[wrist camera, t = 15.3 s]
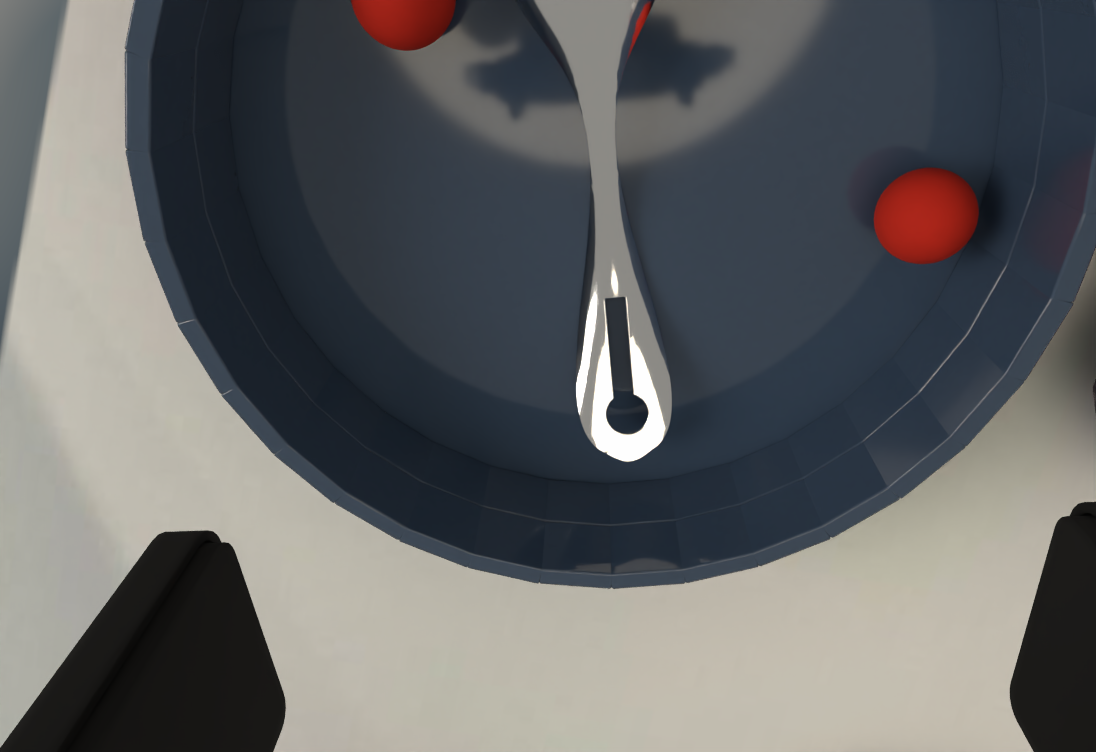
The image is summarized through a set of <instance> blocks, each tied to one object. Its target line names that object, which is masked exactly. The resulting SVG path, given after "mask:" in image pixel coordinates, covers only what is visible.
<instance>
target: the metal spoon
mask: <svg viewBox="0 0 1096 752" xmlns="http://www.w3.org/2000/svg"><path fill="white" fill-rule="evenodd" d="M515 1H516V3H517V5H518V6H519V8H520V10H521V11H522V13H523V14H524V16H525V17H526V19H527V20H528V22H529V23H530V25H531V26H532V27H533V29H534V30H535V31H536V33H537V34H538V35H539V37H540V38H541V39H542V41H543V42H544V44H545V45H546V46H547V48H548V49H549V50H550V52H551V53H552V54H553V56H554V57H555V59H556V60H557V62H558V63H559V65H560V66H561V68H562V69H563V71H564V73H565V75H566V76H567V78H568V80H569V82H570V84H571V86H572V88H573V91H574V93H575V96H576V98H577V101H578V104H579V107H580V110H581V114H582V117H583V121H584V125H585V130H586V136H587V142H588V150H589V161H590V212H589V227H588V239H587V249H586V259H585V269H584V278H583V287H582V296H581V306H580V315H579V326H578V338H577V354H576V394H577V404H578V411H579V416H580V420H581V423H582V426H583V429H584V431H585V433H586V435H587V437H588V439H589V440H590V441H591V443H592V444H593V445H594V446H595V447H596V448H598V449H599V450H600V451H602V452H604V453H607V454H609V455H610V456H612V457H614V458H617V459H619V460H623V461H633V460H636V459H639V458H641V457H642V456H644V455H645V454H647V453H648V452H649V451H651V450H652V449H654V448H655V447H656V446H658V445H659V444H660V443H661V441H662V440H663V439H664V437H665V435H666V433H667V431H668V428H669V424H670V419H671V412H672V392H671V382H670V374H669V368H668V362H667V357H666V353H665V348H664V344H663V339H662V335H661V331H660V327H659V324H658V320H657V316H656V313H655V309H654V305H653V302H652V298H651V295H650V292H649V288H648V285H647V281H646V278H645V275H644V271H643V268H642V264H641V261H640V257H639V254H638V250H637V247H636V243H635V240H634V236H633V233H632V229H631V225H630V221H629V218H628V214H627V210H626V205H625V201H624V197H623V192H622V187H621V182H620V176H619V170H618V163H617V154H616V141H615V119H616V106H617V99H618V93H619V88H620V83H621V79H622V75H623V72H624V69H625V66H626V63H627V60H628V58H629V55H630V53H631V51H632V48H633V46H634V44H635V42H636V40H637V37H638V35H639V33H640V31H641V29H642V27H643V25H644V23H645V21H646V19H647V17H648V14H649V12H650V10H651V8H652V6H653V3H654V1H655V0H515ZM620 297H625V307H626V319H627V331H628V343H629V355H630V367H631V379H632V391H633V395H635V396H637V397H639V398H640V399H641V400H642V401H643V402H644V403H645V405H646V407H647V418H646V421H645V422H644V424H643V425H642V426H641V427H640V428H638V429H637V430H635V431H631V432H623V431H620V430H618V429H616V428H614V427H613V426H612V425H611V423H610V422H609V420H608V417H607V409H608V406H609V404H610V403H611V401H612V400H613V399H614V388H613V377H612V366H611V355H610V344H609V333H608V322H607V311H606V300H605V299H608V298H620Z"/></svg>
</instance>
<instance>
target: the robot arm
mask: <svg viewBox="0 0 1096 752" xmlns="http://www.w3.org/2000/svg"><path fill="white" fill-rule="evenodd" d="M1010 700H1011V706H1012V709H1013V713H1014V715H1015V718H1016V720H1017V722H1018V724H1019V726H1020V727H1021V729H1022V731H1023V733H1024V735H1025V737H1026V738H1027V740H1028V742H1029V744H1030V746H1031V747H1032V749H1033V751H1034V752H1096V502H1084V503H1080V504H1078V505H1077V506H1076V507H1075V508H1074V509H1073V510H1072V512H1071V514H1070V516H1066V517H1062V518H1060V519H1059V520H1058V522H1057V524H1056V526H1055V529H1054V532H1053V536H1052V539H1051V543H1050V546H1049V550H1048V554H1047V557H1046V561H1045V564H1044V568H1043V571H1042V575H1041V578H1040V582H1039V585H1038V589H1037V592H1036V596H1035V599H1034V603H1033V606H1032V610H1031V613H1030V617H1029V620H1028V624H1027V628H1026V631H1025V635H1024V638H1023V642H1022V645H1021V649H1020V652H1019V656H1018V659H1017V663H1016V666H1015V670H1014V673H1013V677H1012V680H1011V684H1010ZM285 709H286V705H285V697H284V693H283V690H282V687H281V684H280V681H279V679H278V676H277V673H276V670H275V667H274V664H273V661H272V658H271V655H270V652H269V649H268V646H267V644H266V641H265V638H264V635H263V632H262V629H261V626H260V623H259V620H258V617H257V614H256V612H255V609H254V606H253V603H252V600H251V597H250V594H249V591H248V588H247V585H246V582H245V580H244V577H243V574H242V571H241V568H240V565H239V562H238V559H237V556H236V553H235V551H234V549H233V547H232V546H231V545H230V544H229V543H225V542H223V543H221V541H220V539H219V537H218V535H217V534H215V533H214V532H213V531H179V532H164V533H161V534H159V535H158V536H157V537H156V538H155V539H154V540H153V541H152V542H151V543H150V545H149V546H148V547H147V549H146V550H145V551H144V553H143V554H142V556H141V557H140V558H139V560H138V561H137V562H136V564H135V565H134V566H133V568H132V569H131V571H130V572H129V573H128V575H127V576H126V577H125V579H124V580H123V581H122V583H121V584H120V586H119V587H118V588H117V590H116V591H115V592H114V594H113V595H112V596H111V598H110V599H109V601H108V602H107V603H106V605H105V606H104V607H103V609H102V610H101V611H100V613H99V614H98V615H97V617H96V618H95V620H94V621H93V622H92V624H91V625H90V626H89V628H88V629H87V630H86V632H85V633H84V635H83V636H82V637H81V639H80V640H79V641H78V643H77V644H76V645H75V647H74V648H73V650H72V651H71V652H70V654H69V655H68V656H67V658H66V659H65V660H64V662H63V663H62V665H61V666H60V667H59V669H58V670H57V671H56V673H55V674H54V675H53V677H52V678H51V680H50V681H49V682H48V684H47V685H46V686H45V688H44V689H43V690H42V692H41V693H40V695H39V696H38V697H37V699H36V700H35V701H34V703H33V704H32V705H31V707H30V708H29V710H28V711H27V712H26V714H25V715H24V716H23V718H22V719H21V720H20V722H19V723H18V725H17V726H16V727H15V729H14V730H13V731H12V733H11V734H10V735H9V737H8V738H7V740H6V741H5V742H4V744H3V745H2V746H1V748H0V752H273V751H274V748H275V745H276V743H277V740H278V738H279V735H280V733H281V730H282V727H283V724H284V719H285Z"/></svg>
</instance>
